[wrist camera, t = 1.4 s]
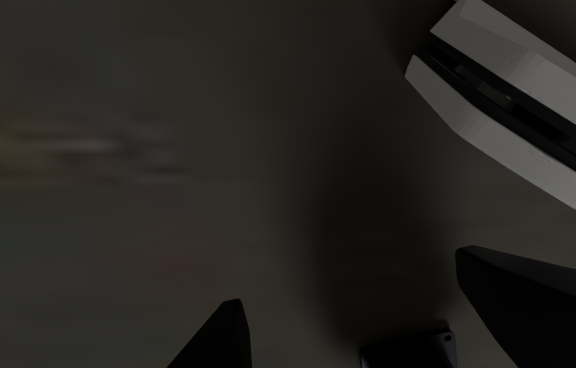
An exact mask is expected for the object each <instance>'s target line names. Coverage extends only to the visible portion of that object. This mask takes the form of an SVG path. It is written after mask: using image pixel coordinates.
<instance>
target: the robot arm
mask: <svg viewBox="0 0 576 368" xmlns="http://www.w3.org/2000/svg"><path fill="white" fill-rule="evenodd" d="M455 260H456V274H457V281H458V284H459V286H460V288H461V290H462V291H463V293H464V294H465V296H466V297H467V299H468V300H469V302H470V303H471V305H472V306H473V307H474V309H475V310H476V312H477V313H478V315H479V316H480V318H481V319H482V321H483V322H484V324H485V325H486V327H487V328H488V330H489V331H490V333H491V334H492V335H493V337H494V338H495V340H496V341H497V342H498V344H499V345H500V346H501V347H502V349H503V350H504V351H505V352H506V353H507V355H508V356H509V357H510V358H511V359H512V361H513V362H514V363H515V364H516V365H517V367H518V368H576V269H572V268H568V267H564V266H559V265H555V264H551V263H547V262H542V261H538V260H534V259H530V258H525V257H521V256H517V255H513V254H508V253H504V252H500V251H496V250H491V249H487V248H483V247H479V246H474V245H471V246H466V247H462V248H459V249H457V250H456V253H455ZM447 335H448V336H447ZM445 336H447V337H445ZM366 354H369V355H367V356H365V355H366ZM360 360H361V365H362V368H457V355H456V343H455V335H454V333H453V332H452V331H451V330H450V329H448V328H443V329H439V330H434V331H430V332H426V333H422V334H417V335H413V336H409V337H404V338H400V339H396V340H392V341H387V342H383V343H379V344H374V345H370V346H366V347H363V348H362V349H361V350H360ZM167 368H252V359H251V343H250V332H249V327H248V323H247V319H246V316H245V312H244V309H243V305H242V302H241V300H240V299H233V300H228V301H224V302H223V303H222V304H221V305H220V306H219V307H218V308H217V310H216V311H215V312H214V313H213V314H212V315H211V317H210V318H209V319H208V320H207V321H206V322H205V324H204V325H203V326H202V327H201V328H200V329H199V331H198V332H197V333H196V334H195V335H194V336H193V337H192V339H191V340H190V341H189V342H188V343H187V344H186V346H185V347H184V348H183V349H182V350H181V351H180V353H179V354H178V355H177V356H176V357H175V358H174V360H173V361H172V362H171V363H170V364H169V365H168V367H167Z"/></svg>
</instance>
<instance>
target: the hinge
mask: <svg viewBox="0 0 576 368" xmlns="http://www.w3.org/2000/svg"><path fill="white" fill-rule="evenodd" d="M454 1H456V2H457V3H456V4H455V5H454V6H453V7H452V8H451V9H450V10H449V11H448V12H447V13H446V14H445V15H444V16H443V17H442V19H441V20H440V21H439V22H438V23H437V24H436V25H435V26H434V27H433V28H432V29H431V30H430V32H431V33H433V34H434V35H436V36H435V37H434V38H433V40H432V41H431V44H432V45H434V46H435V47H437V48H438V49H439V50H441V51H442V52H444V53H445V54H446V55H448V56H449V57H451V58H452V59H453V60H455V61H456V62H457V63H459V64H460V65H459V66H458V67H456V68H453V69H452V68H451V67H450V66H448V65H447V64H445V63H443V62H442V61H440V60H438V59H437V58H435V57H433V56H432V55H430V54H428V53H427V52H425V51H424V53H423V54H422V55H421V57H420V58H419V57H417V56H415V55H413V56H412V59H411V61H410V63H409V65H408V67H407V71H406V74H405V78H406V79H407V80H408V81H409V83H410V84H411V85H412V86H413V87H414V88H415V89H416V90H417V91H418V92H419V94H420V95H421V96H422V97H423V98H424V99H425V100H426V101H427V102H428V103H429V105H430V106H431V107H432V108H433V109H434V110H435V111H436V112H437V113H438V114H439V116H440V117H441V118H442V119H443V120H444V121H445V122H446V123H447V124H448V125H449V127H450V128H451V129H452V130H453V131H455V132H456V133H457V134H458V135H459V136H461V137H462V138H463V139H465V140H466V141H468V142H469V143H471V144H472V145H474V146H475V147H477V148H478V149H480V150H481V151H483V152H484V153H486V154H487V155H489V156H490V157H492V158H493V159H495V160H496V161H498V162H500V163H501V164H503V165H504V166H506V167H507V168H509V169H510V170H512V171H514V172H515V173H517V174H518V175H520V176H521V177H523V178H525V179H526V180H528V181H529V182H531V183H533V184H534V185H536V186H538V187H539V188H541V189H542V190H544V191H546V192H547V193H549V194H551V195H552V196H554V197H556V198H557V199H559V200H560V201H562V202H564V203H565V204H567V205H569V206H570V207H572V208H574V209H575V210H576V63H575V62H574V61H572V60H571V59H569V58H568V57H566V56H565V55H563V54H562V53H560V52H559V51H557V50H556V49H554V48H553V47H551V46H550V45H548V44H547V43H545V42H544V41H542V40H541V39H539V38H538V37H536V36H535V35H533V34H532V33H530V32H528V31H527V30H525V29H524V28H522V27H521V26H519V25H518V24H516V23H515V22H513V21H512V20H510V19H509V18H507V17H506V16H504V15H503V14H501V13H500V12H498V11H497V10H495V9H494V8H492V7H491V6H489V5H488V4H486V3H485V2H483V1H482V0H454ZM516 103H517V104H519V105H520V106H522V107H524V108H525V109H527V110H528V111H530V112H532V113H533V114H535V115H536V116H538V117H540V118H541V119H543V120H544V121H546V122H547V123H549V124H551V125H552V126H554V127H555V128H557V129H559V130H560V131H562V132H563V133H564V134H563V135H562V136H560V137H557V138H554V139H550V138H549V137H547V136H545V135H544V134H542V133H540V132H539V131H537V130H535V129H533V128H532V127H530V126H528V125H527V124H525V123H524V122H522V121H520V120H519V119H517V118H516V117H515V116H513V115H512V114H511V111H512V109H513V106H514V105H515V104H516Z"/></svg>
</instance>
